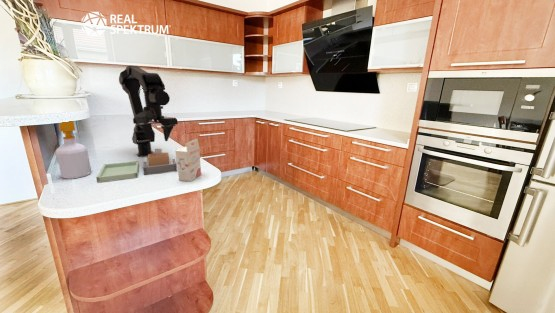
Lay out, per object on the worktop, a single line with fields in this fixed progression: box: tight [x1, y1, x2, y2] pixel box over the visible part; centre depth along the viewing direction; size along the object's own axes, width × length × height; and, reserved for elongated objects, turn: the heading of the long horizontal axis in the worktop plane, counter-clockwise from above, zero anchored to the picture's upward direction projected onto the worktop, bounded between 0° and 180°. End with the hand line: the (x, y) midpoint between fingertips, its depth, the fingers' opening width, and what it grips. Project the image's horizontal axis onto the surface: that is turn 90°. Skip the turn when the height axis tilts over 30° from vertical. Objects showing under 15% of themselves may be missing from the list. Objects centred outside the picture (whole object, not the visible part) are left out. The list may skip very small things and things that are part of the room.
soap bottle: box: [55, 120, 93, 180], centre depth 91 cm, size 9×9×25 cm
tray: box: [96, 160, 140, 184], centre depth 97 cm, size 16×13×2 cm
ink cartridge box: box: [175, 138, 202, 182], centre depth 93 cm, size 9×5×15 cm, turn 168°
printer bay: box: [142, 158, 178, 176], centre depth 101 cm, size 8×12×3 cm, turn 117°
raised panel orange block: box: [147, 148, 171, 166], centre depth 108 cm, size 8×11×6 cm
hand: (157, 140), depth 107 cm, fingers open, 9 cm apart
